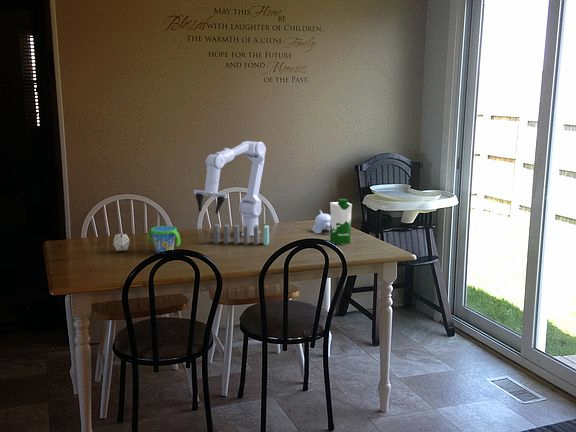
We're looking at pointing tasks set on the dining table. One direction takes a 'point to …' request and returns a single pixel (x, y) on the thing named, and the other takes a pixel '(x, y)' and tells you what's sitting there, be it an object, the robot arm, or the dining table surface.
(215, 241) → the domino
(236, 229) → the domino
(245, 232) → the domino
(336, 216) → the milk carton
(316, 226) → the hippopotamus toy
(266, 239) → the domino
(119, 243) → the game die
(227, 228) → the domino
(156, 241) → the snack cup
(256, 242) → the domino
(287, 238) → the dining table surface
